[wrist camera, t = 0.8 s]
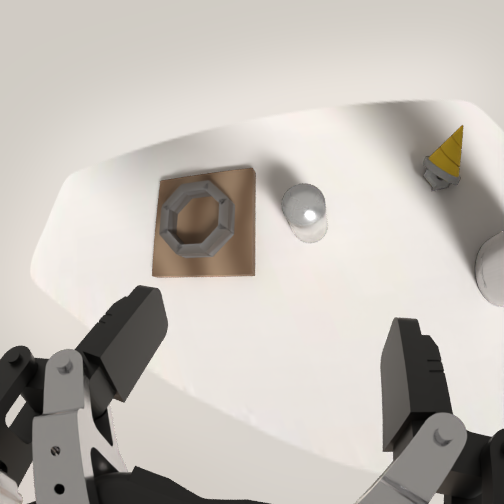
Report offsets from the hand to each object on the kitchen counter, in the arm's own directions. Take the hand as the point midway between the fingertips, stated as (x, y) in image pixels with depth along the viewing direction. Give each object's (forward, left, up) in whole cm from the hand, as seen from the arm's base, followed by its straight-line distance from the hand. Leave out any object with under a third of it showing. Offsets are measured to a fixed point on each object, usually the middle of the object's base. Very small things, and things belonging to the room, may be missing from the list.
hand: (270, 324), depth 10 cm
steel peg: (+1, -11, -27) cm, 30 cm away
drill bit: (-17, -18, -28) cm, 37 cm away
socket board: (+15, -12, -27) cm, 33 cm away
